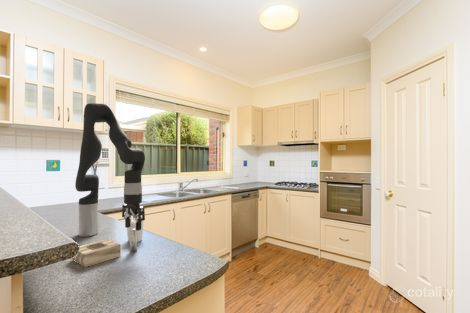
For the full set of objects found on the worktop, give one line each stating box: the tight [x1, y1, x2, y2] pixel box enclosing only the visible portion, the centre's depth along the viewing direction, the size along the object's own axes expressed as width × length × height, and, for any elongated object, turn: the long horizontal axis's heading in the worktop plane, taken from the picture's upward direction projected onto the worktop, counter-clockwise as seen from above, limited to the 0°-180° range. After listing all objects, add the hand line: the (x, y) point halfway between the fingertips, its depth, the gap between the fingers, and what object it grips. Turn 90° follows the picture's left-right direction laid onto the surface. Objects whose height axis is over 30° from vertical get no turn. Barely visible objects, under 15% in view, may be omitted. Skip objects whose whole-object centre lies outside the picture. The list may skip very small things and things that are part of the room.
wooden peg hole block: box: [71, 238, 122, 268], centre depth 102 cm, size 12×14×5 cm
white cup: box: [126, 218, 144, 243], centre depth 124 cm, size 8×8×10 cm
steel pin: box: [129, 228, 138, 254], centre depth 109 cm, size 3×3×10 cm
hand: (133, 228), depth 109 cm, fingers open, 8 cm apart
